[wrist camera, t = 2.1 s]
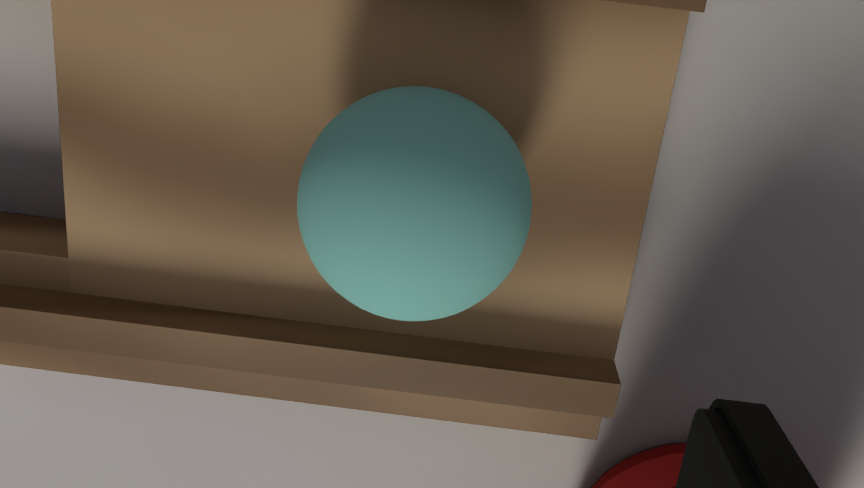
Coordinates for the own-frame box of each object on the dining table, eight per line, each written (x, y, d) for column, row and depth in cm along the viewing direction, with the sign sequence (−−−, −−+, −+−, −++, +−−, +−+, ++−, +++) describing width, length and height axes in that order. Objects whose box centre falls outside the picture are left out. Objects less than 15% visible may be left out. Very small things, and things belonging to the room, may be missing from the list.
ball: (327, 55, 19) (275, 98, 14) (541, 81, 19) (559, 132, 14) (316, 253, 21) (266, 348, 16) (510, 277, 21) (517, 380, 16)
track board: (-371, -231, 20) (-550, -263, 16) (689, -112, 19) (733, -120, 16) (-252, 285, 25) (-370, 342, 22) (586, 390, 25) (602, 466, 21)
